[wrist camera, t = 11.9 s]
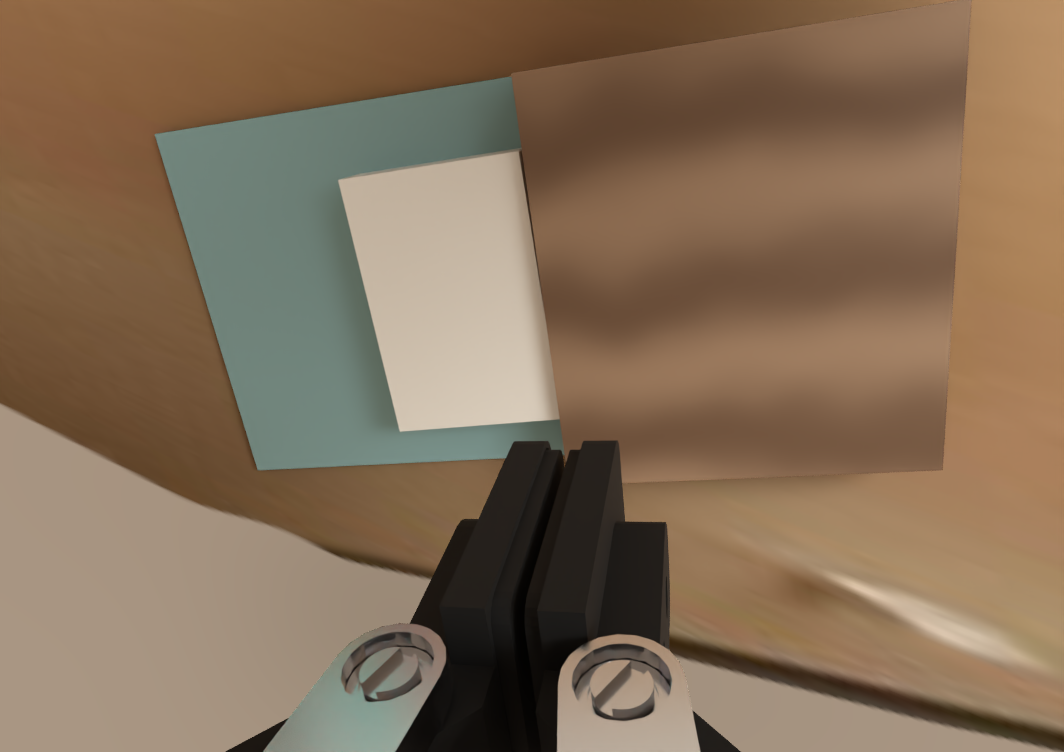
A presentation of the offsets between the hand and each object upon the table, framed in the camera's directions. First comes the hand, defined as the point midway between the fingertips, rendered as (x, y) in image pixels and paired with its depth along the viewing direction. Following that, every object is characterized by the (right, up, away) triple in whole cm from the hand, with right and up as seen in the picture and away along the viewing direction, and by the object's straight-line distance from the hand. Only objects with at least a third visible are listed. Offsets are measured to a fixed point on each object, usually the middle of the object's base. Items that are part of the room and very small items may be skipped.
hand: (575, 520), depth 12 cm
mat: (-9, +6, +24) cm, 27 cm away
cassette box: (-4, +6, +23) cm, 24 cm away
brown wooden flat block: (+8, +7, +21) cm, 23 cm away
